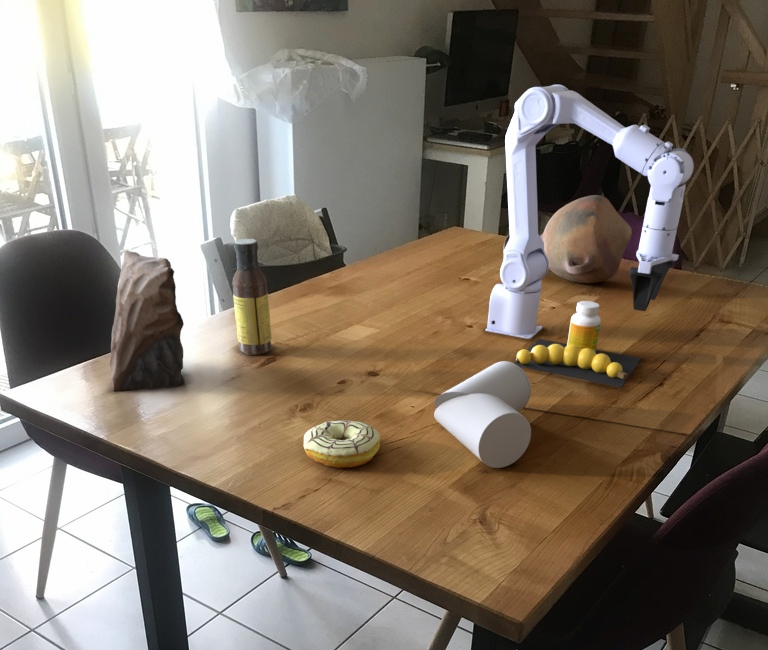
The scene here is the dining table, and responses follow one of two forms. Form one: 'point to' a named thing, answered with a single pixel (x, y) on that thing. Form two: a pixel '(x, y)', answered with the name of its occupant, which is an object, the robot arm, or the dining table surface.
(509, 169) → the robot arm
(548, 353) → the yellow lumpy bar
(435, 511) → the dining table surface
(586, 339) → the supplement bottle
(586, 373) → the placemat
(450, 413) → the bent grey cylinder
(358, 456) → the decorated donut
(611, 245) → the jug
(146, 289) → the brown rock
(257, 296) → the sauce bottle
